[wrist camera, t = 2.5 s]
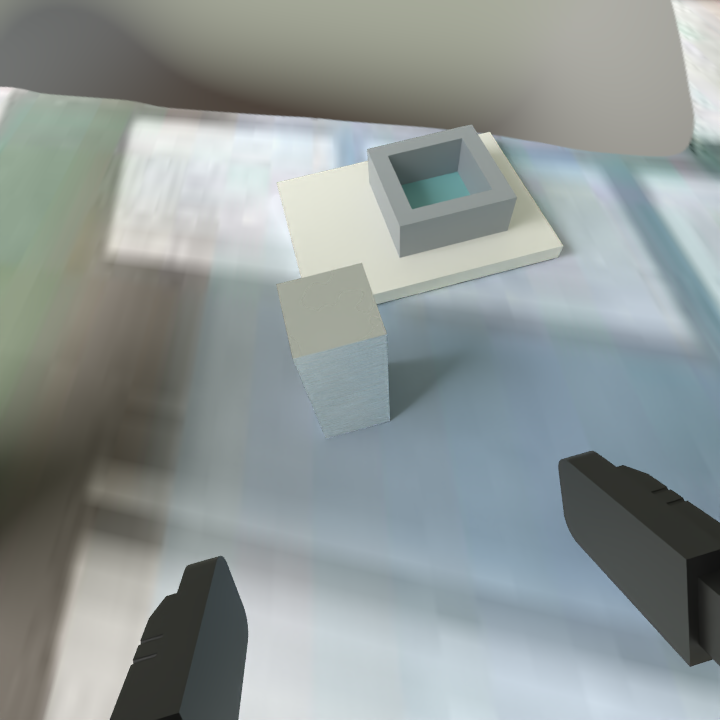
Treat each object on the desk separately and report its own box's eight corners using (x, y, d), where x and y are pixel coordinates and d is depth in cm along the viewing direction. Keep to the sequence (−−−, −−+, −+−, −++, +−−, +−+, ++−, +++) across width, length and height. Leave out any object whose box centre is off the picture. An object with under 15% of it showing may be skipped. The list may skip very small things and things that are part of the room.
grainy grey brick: (325, 439, 28) (292, 359, 19) (312, 381, 30) (276, 284, 21) (389, 421, 28) (386, 334, 19) (372, 365, 30) (361, 262, 21)
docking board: (312, 320, 32) (301, 282, 28) (279, 194, 38) (267, 149, 34) (558, 257, 33) (578, 212, 29) (487, 144, 39) (496, 96, 35)
